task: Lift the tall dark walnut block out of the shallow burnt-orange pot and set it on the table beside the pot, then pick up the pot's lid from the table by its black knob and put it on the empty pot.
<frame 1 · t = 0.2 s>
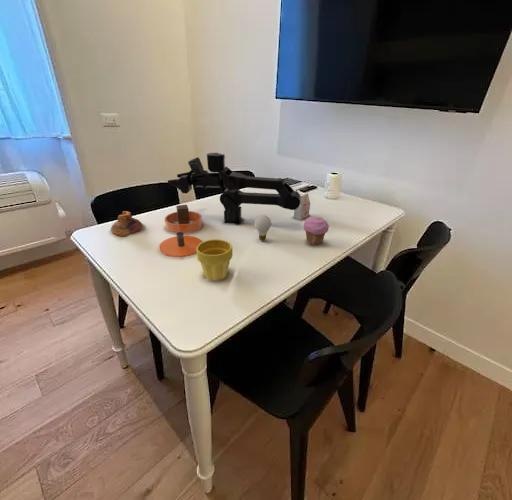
hand: (172, 178, 124), 17 cm above the table, tool horizontal, fingers open, 9 cm apart
bell: (128, 230, 118), on the table
block: (184, 225, 122), resting on pot
lid: (181, 246, 106), point 1 cm above the table
light bulb: (262, 241, 113), on the table
white milk carton: (301, 217, 134), on the table
cupcake: (313, 242, 113), on the table
pot: (184, 226, 122), on the table
flower pot: (215, 275, 92), on the table
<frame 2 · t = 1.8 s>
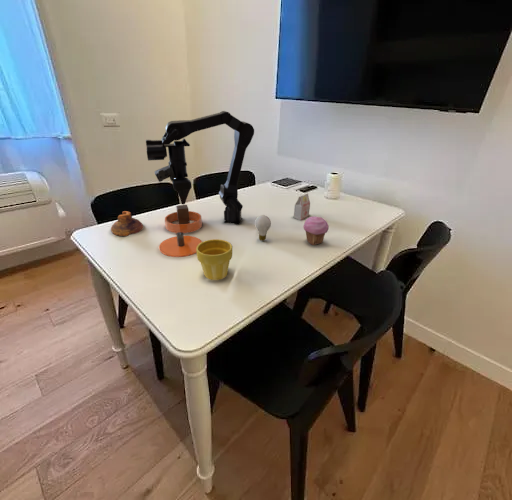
hand: (181, 200, 117), 11 cm above the table, tool pointing down, fingers open, 9 cm apart
nothing on the table moved.
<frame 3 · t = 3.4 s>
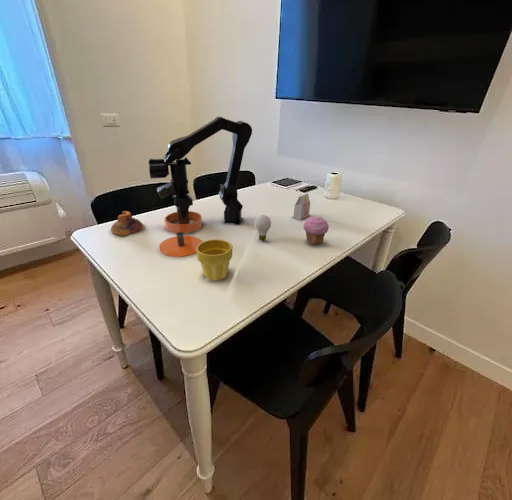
hand: (183, 215, 120), 5 cm above the table, tool pointing down, fingers closed on block, 4 cm apart
block: (184, 225, 122), resting on pot, touching gripper
everything else where it was.
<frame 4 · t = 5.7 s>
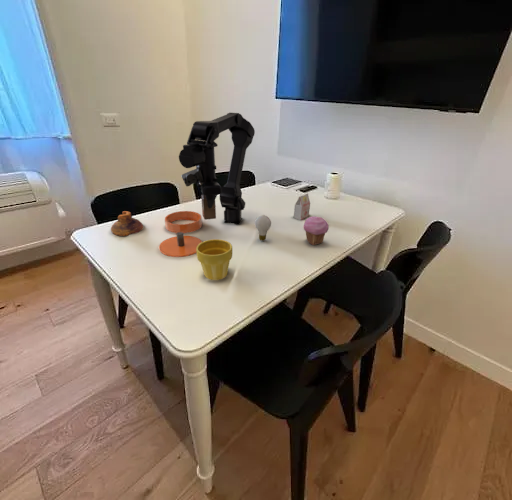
hand: (208, 205, 109), 12 cm above the table, tool pointing down, fingers closed on block, 4 cm apart
block: (209, 217, 111), point 8 cm above the table, touching gripper
everything else where it was.
when the fingers open (4 cm above the table, at t = 8.0 s): block stays where it is, on the table.
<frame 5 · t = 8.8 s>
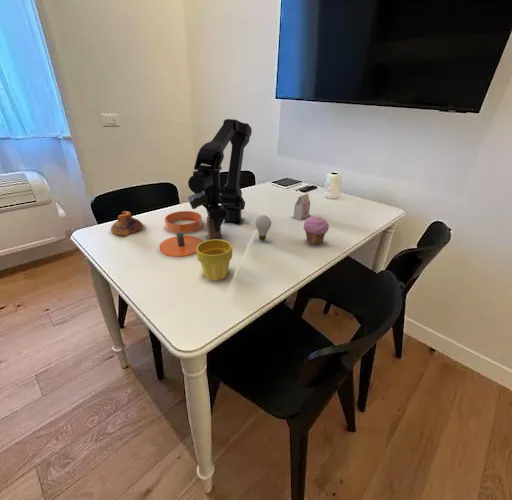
hand: (213, 226, 111), 5 cm above the table, tool pointing down, fingers open, 9 cm apart
block: (214, 238, 114), on the table
everything else where it was.
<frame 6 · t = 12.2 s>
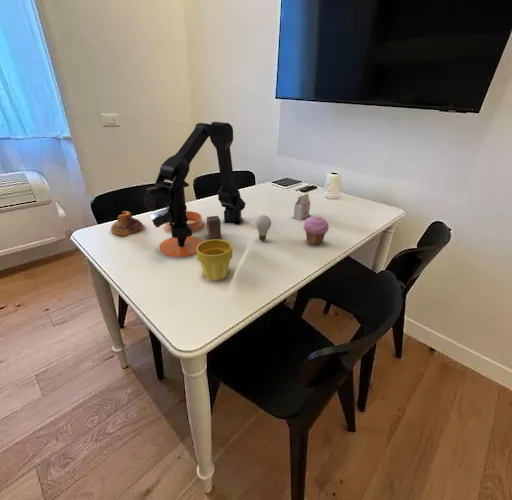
hand: (181, 244, 106), 1 cm above the table, tool pointing down, fingers closed on lid, 2 cm apart
lid: (181, 246, 106), point 1 cm above the table, touching gripper
everything else where it was.
when the fingers open (5 cm above the table, at t = 17.3 s): lid stays where it is, resting on pot.
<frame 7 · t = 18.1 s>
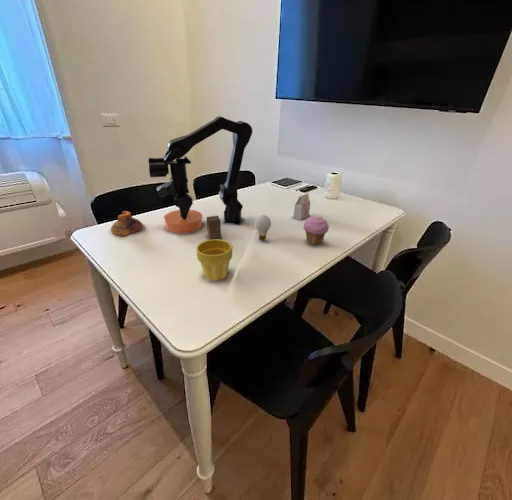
hand: (182, 214, 120), 5 cm above the table, tool pointing down, fingers open, 9 cm apart
lid: (183, 217, 120), point 4 cm above the table, touching pot
everything else where it was.
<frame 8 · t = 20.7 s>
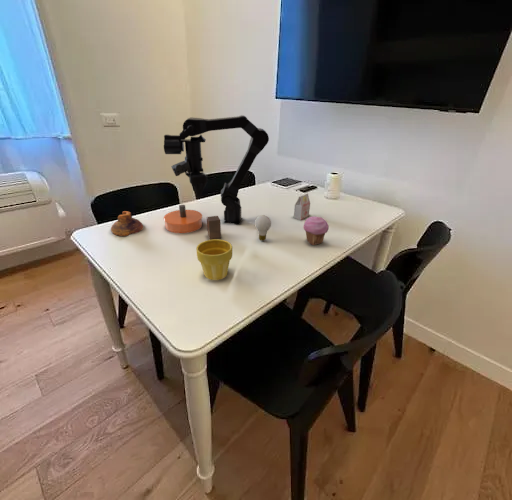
hand: (196, 194, 121), 12 cm above the table, tool pointing down, fingers open, 9 cm apart
nothing on the table moved.
at the end: block inside the target area (0.1 cm from its centre), on the table; lid 0.0 cm off-centre on the pot, point 4.0 cm above the pot's base; lid tilted 0° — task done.
